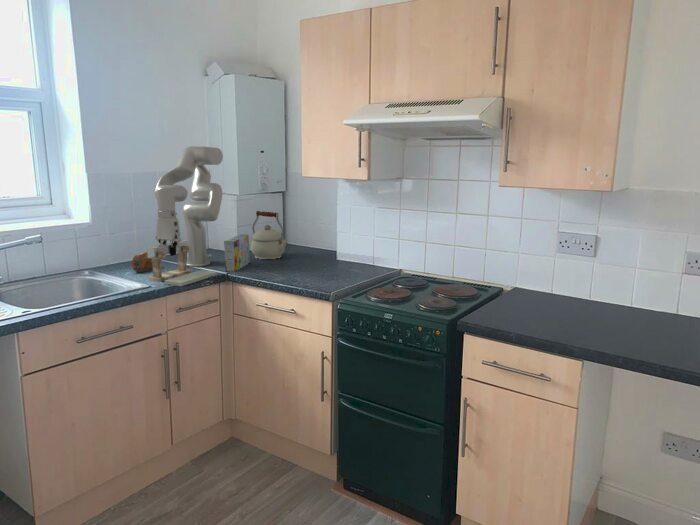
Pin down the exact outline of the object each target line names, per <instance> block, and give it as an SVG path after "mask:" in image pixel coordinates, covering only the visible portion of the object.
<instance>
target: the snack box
mask: <svg viewBox="0 0 700 525" xmlns="http://www.w3.org/2000/svg"><path fill="white" fill-rule="evenodd" d="M249 236H250V235H249V234H247V233H245V234H238V235H235V236H232V237H230V238H228V239H226V240H224V241H223V244H224V245H223V246H224V260H225V262H224V263H225V272H233V271H236V270H237V271H239V270H241V269H242V268H244V267H245V265H246V266H247V265H249V264H251V256H250V255H251V254H250V240H249V239H250V238H249ZM248 263H249V264H248ZM243 266H244V267H243ZM240 268H241V269H240ZM238 269H239V270H238ZM237 271H236V272H237Z"/></svg>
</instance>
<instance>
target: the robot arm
mask: <svg viewBox="0 0 700 525" xmlns="http://www.w3.org/2000/svg"><path fill="white" fill-rule="evenodd" d="M223 155H224V154H223V151H222V149H220V148H219V147H213V146H212V147H211V146H198V145H197V146H195V145H194V146H193V145H191V146H187V147H185V148H184V149H183V151H182V153H181V155H180V157H179V159H178V161H177V163H176V166H175V167H174V168H172V169H170V170H168V171H167V172H165V173H164V174H163V175H162V176H161V177H160V178H159V179H158V182H157V183H156V185H155V189H154V197H155V198H156V204H157V205H156V206H157V219H156V236H155V240H156V241H157V242H158V243H159V245H162V244H167V243H168V241H169V243H170V245H171V247H170V254H169V255H170V257H173V256H176V255H177V253H176V246H177V244H178V243H179V242H180V241H182V238H181V228H180V224H179V223H180V222H179V218H178V217H177V215H178V213H177V212H176V203H181V202H184V201H185V200H187V199H188V195H189V196H190V199H191V200H192V201H189V202H186V203H185V204H184V205H183V206H182V214H183V215H182V216H183V219H184V225H185V227H184V228H185V241H189V253H186V267H191V268H193V267H194V268H195V267H197V268H198V267H199V268H200V267H206V266H209V265H211V261H210V260H209V259H211V258H213V255H212V254H208V253H207V234H206V228H205V226H204V224H203V222H210V223H211V222H215V221H217V220H218V218H219V216H220V211H221V205H222V201H223V188H222V186H221V185H220V183H217V182H211V180H212V179H211V177H212V175H211V172H210V171H209V170H208V168H207V167H206V166H205V165H207V166H208V165H209V166H218V165H220V164H221V163H222V162H223V158H224V156H223ZM191 178H192V181H191V185H190V190H189V191H188V189H187V188H186V187H185V186H183V185H179V184H178V183H181V182H184V181H187V180H189V179H191ZM188 192H189V194H188ZM173 242H174V243H173Z"/></svg>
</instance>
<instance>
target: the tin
mask: <svg viewBox="0 0 700 525" xmlns="http://www.w3.org/2000/svg"><path fill="white" fill-rule="evenodd" d="M131 263H132V269H133V271H134V272H136V273H143V271H144V272H146V270H147V271H149V270H151V269H153V264H152V258H148V254H147V251H145V252H142V253H139V254H135V255H134V256H133V257H132V260H131ZM148 269H149V270H148Z"/></svg>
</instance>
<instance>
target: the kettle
mask: <svg viewBox="0 0 700 525" xmlns="http://www.w3.org/2000/svg"><path fill="white" fill-rule="evenodd" d="M255 214H256V219H255V220H254V222H253V223H252V226H251V229H252V230H251V231H252V236H251V239H250V240H251V243H250V251H251V252H252V254H253V255H254V258H255V259H257V258H259V259H258V260H261V259H273V260H276V259H275V258H279V259H281V258H282V254H284V252H285V250H286V245H287V242H288V241H289V240H288V239H286V238H285V237H284V232H285V231H284V227H283V225H282V224H281V222H280V220H279V212H273V211H260V210H256V213H255ZM261 216H262V217H267V218H268V217H269V218H273V217H274V218H275V219H276V220H275V221H276V222H277V224H278V225H279V227H280V230H281V231H279V230H276V229H272V227H271V226H270V225H269V224H266V225H264V227H263V229H260V230H256V231H255V225H256V223H257V222H258V220H259V217H261ZM280 257H281V258H280Z"/></svg>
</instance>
